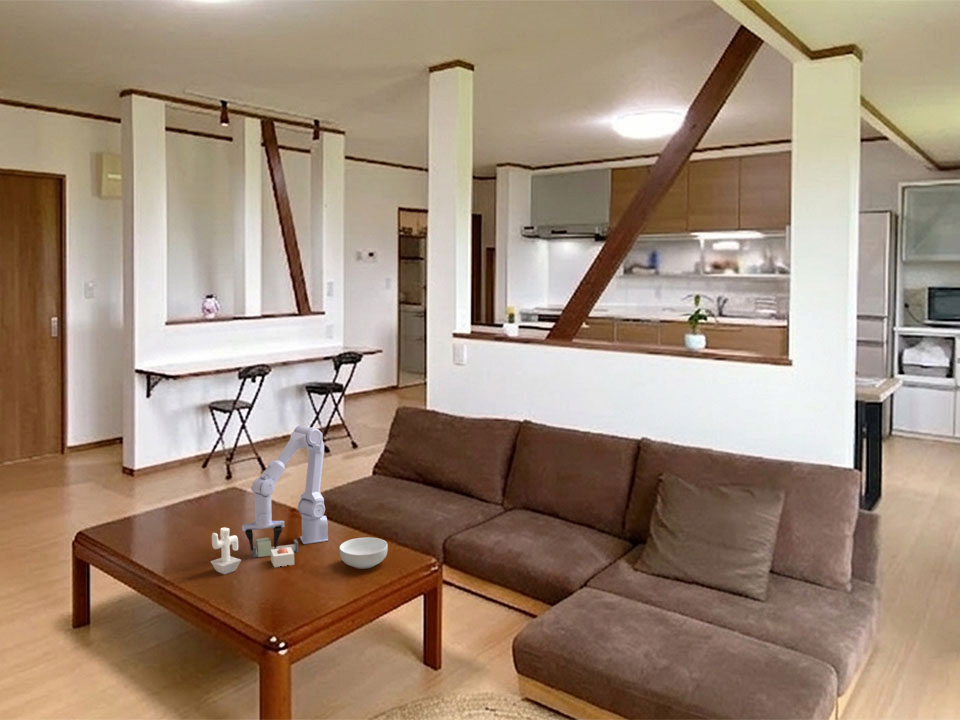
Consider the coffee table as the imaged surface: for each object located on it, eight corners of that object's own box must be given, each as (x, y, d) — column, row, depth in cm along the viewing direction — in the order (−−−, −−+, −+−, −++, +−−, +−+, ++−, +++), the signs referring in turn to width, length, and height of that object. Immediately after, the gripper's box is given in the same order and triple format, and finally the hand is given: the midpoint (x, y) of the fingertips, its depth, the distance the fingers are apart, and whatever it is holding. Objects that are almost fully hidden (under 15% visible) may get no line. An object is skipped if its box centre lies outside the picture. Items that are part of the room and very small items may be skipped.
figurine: (244, 569, 268) (243, 527, 266) (220, 577, 260) (218, 534, 258) (231, 564, 272) (230, 522, 270) (207, 572, 264) (206, 530, 263)
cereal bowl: (341, 556, 280) (341, 537, 279) (387, 555, 282) (387, 536, 281) (338, 575, 263) (337, 554, 262) (387, 573, 265) (387, 553, 264)
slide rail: (296, 548, 288) (296, 539, 288) (298, 551, 284) (298, 542, 284) (251, 554, 282) (251, 544, 281) (253, 558, 278) (253, 548, 278)
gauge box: (291, 557, 278) (290, 547, 278) (294, 564, 272) (294, 553, 271) (271, 560, 276) (270, 549, 275) (273, 567, 269) (273, 556, 269)
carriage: (269, 551, 285) (269, 537, 284) (271, 555, 280) (271, 541, 280) (256, 552, 283) (256, 539, 282) (258, 557, 278) (257, 543, 278)
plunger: (286, 559, 276) (285, 547, 275) (287, 562, 273) (287, 550, 273) (277, 560, 274) (277, 549, 274) (279, 563, 272) (278, 551, 271)
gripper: (282, 506, 286) (282, 542, 288) (241, 510, 281) (241, 546, 282) (285, 511, 280) (285, 548, 281) (243, 516, 274) (243, 553, 276)
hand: (263, 548), depth 281 cm, fingers open, 7 cm apart
